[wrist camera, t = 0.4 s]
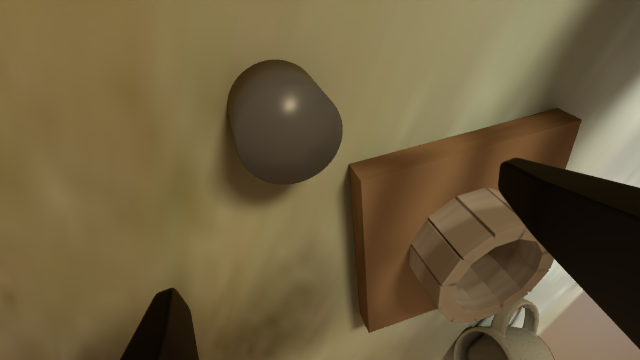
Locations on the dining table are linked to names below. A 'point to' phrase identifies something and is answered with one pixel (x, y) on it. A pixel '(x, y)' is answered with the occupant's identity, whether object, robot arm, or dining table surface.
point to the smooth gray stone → (282, 122)
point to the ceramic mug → (504, 338)
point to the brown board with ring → (450, 223)
